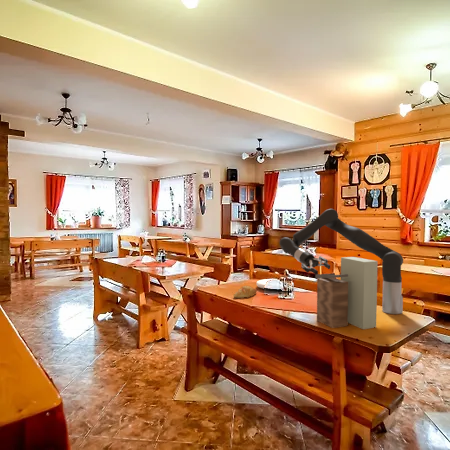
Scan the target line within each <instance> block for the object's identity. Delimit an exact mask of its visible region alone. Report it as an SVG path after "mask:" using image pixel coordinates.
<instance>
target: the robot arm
mask: <svg viewBox="0 0 450 450" xmlns="http://www.w3.org/2000/svg"><path fill="white" fill-rule="evenodd" d="M322 227H327V228H329V229H331V230H332V231H335V232H336V233H338V234H340V235H341V236H342V237H344V238H345V239H346V240H348V241H349V242H351V243H352V244H353V245H354V246H357V247H358V248H360V249H362V250H363V251H366V252H369V253H371V254H373V255H375V256H377V257H378V258H379V259H381V265H382V266H381V267H382V270H381V271H382V272H381V273H382V274H381V275H382V308H381V309H382V312H383V313H385V314H388V315H389V314H390V315H399V314H403V311H404V310H403V305H404V301H403V300H404V296H403V295H402V283H403V282H402V279H403V278H402V266H403V264H404V257H403V256H402V254H401V253H399V252H397V250H394V249H392V248H390V247H389V246H386V245H384V244H383V243H382V242H380V241H378V240H377V239H376V238H374V237H373V236H371V235H370V234H369V233H367V232H366V231H365V230H362V229H361V228H360V227H356V226H352V225H349V224H347V223H345V222H344V221H343V220H342V219H340V218H339V214H338V211H337V210H336V209H333V208H328V209H326V210H324V211H323V212H322V213H321V214H320V215H319V216H317V217H316V218H315V219H314V220H313V221H312V222H310V223H309V224H307V225H306V226H304V227H303V228H301V229H300V230H298V231H296V232H295V233H294V234H293V235H292V239H291V238H290V237H282V238H280V240H279V245H280V247H281V250H282V251H283V253H284V254H286V255H287V254H289V255H290V256H291V257H293V258H294V259H296V260H297V262H299V263H301V264H300V265H301V269H302V270H304V271H305V272H306V273H310V272H311V273H313V274H314V275H318V274H319V271H318V270H317V269H316V267H322V266H323V267H325V269H328V270H331V265H330V264H329V263H328V261H329V260H328V259H327V258H325V257H323V256H322V255H319V256H318V258H317V257H315V256H314V254H312V253H311V252H309V251H307V250H306V249H304V248H302V247H300V245H301V244H302V243H304V242H305V241H307V240H309V239H311V237H312V236H313V235H315V233H316V232H317V231H319V230H320V229H321V228H322Z"/></svg>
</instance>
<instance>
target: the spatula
mask: <svg viewBox="0 0 450 450" xmlns="http://www.w3.org/2000/svg"><path fill="white" fill-rule="evenodd" d="M314 275H315V279H319V278H336V279H340V278H341V277H348V274H342V275H341V274H335V273H322V274H320V273H318V274H317V275H316V274H314Z"/></svg>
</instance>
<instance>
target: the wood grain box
mask: <svg viewBox="0 0 450 450" xmlns="http://www.w3.org/2000/svg"><path fill="white" fill-rule="evenodd" d="M316 279H317V280H316V281H317V284H316V285H317V286H316V287H317V289H316V293H317V295H316V298H317V299H316V322H319V323H321V324H323V325H325V326H327V327H329V328H331V329H336V328H341V327H348V324H349V323H348V282H346V281H343V280H341V279H340V278H316Z"/></svg>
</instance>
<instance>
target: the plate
mask: <svg viewBox="0 0 450 450" xmlns="http://www.w3.org/2000/svg"><path fill="white" fill-rule="evenodd" d="M272 279H273V278H267V279H266V278H264V279H260V280H257V281H256V286H257V287H258V288H261V289H264V286H265V284H266V282H267V281H268V280H272ZM291 282H292V281H291ZM294 285H295V284H294V282H292V286H293V287H294Z"/></svg>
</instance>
